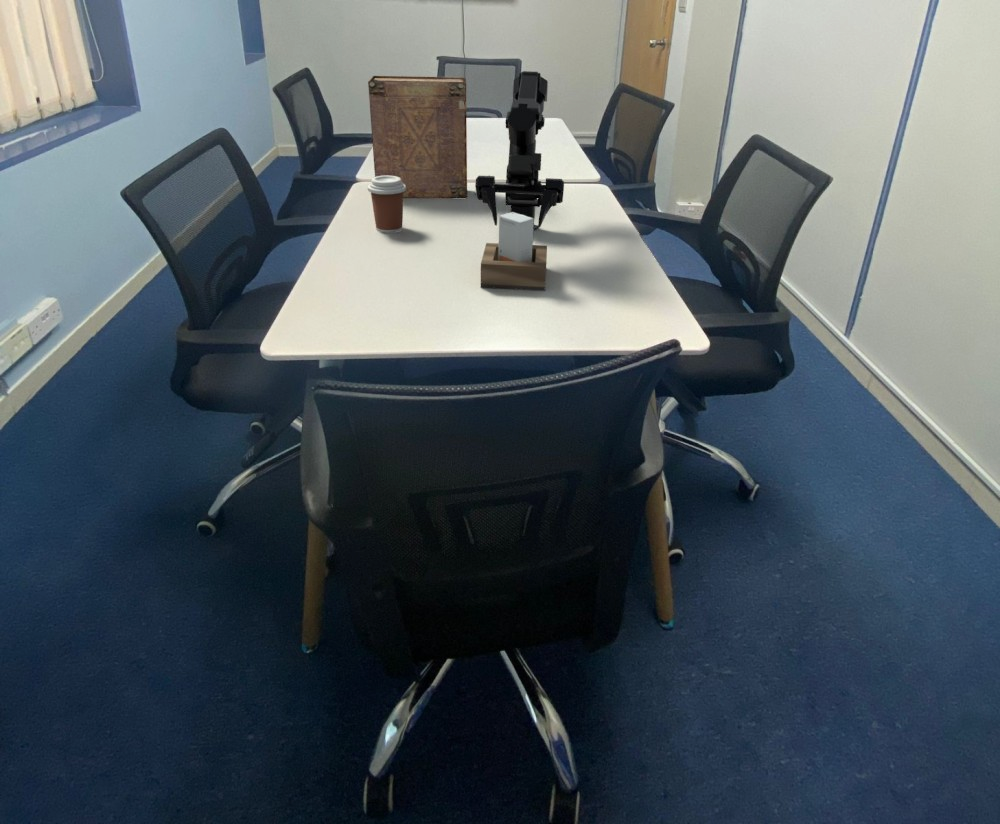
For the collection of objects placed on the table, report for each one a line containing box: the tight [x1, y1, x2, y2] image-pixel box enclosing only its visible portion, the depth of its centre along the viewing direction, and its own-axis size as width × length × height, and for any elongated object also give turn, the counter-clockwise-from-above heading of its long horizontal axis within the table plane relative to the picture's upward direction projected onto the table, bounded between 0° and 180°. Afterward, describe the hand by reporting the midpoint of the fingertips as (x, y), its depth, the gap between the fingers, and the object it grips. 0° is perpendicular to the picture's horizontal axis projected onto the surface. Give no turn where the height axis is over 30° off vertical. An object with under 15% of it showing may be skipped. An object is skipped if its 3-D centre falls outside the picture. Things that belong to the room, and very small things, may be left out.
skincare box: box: [498, 211, 535, 262], centre depth 147 cm, size 6×4×12 cm
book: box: [367, 75, 468, 199], centre depth 197 cm, size 25×9×30 cm, turn 93°
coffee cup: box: [367, 175, 406, 234], centre depth 174 cm, size 9×9×12 cm
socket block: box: [480, 242, 548, 292], centre depth 149 cm, size 13×13×5 cm
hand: (517, 225), depth 152 cm, fingers open, 9 cm apart
